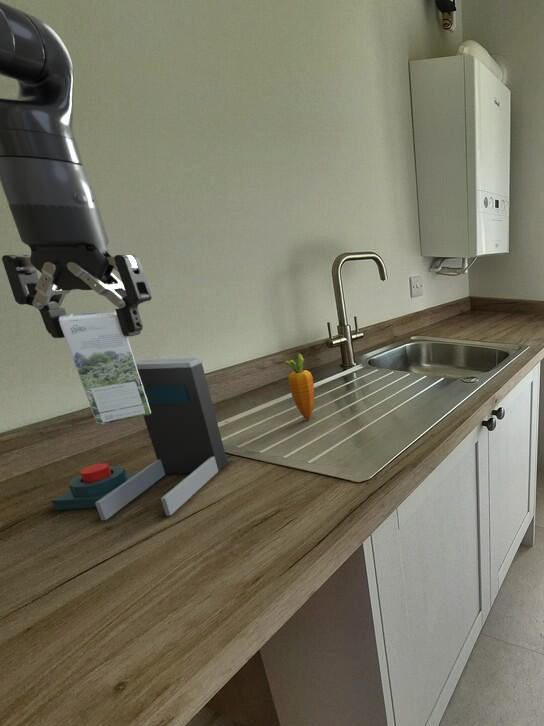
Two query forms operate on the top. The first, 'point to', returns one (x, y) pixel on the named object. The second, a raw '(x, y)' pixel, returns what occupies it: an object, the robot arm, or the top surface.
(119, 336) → the syrup box
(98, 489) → the control block
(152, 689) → the top surface
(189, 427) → the grey panel on legs
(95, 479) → the stop button
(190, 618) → the top surface
